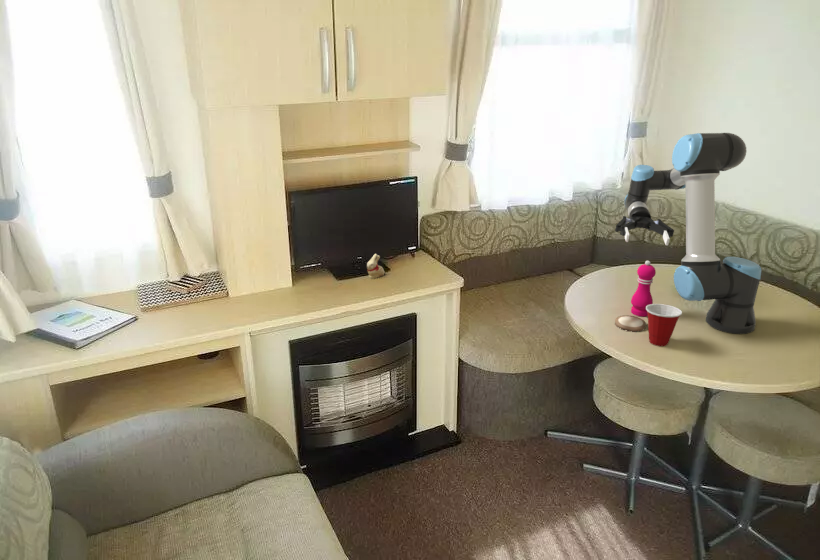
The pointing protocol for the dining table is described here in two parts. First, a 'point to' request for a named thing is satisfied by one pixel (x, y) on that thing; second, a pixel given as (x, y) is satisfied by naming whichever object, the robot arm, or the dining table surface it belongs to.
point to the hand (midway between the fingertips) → (647, 240)
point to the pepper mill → (643, 290)
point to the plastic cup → (661, 323)
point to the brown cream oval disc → (630, 323)
